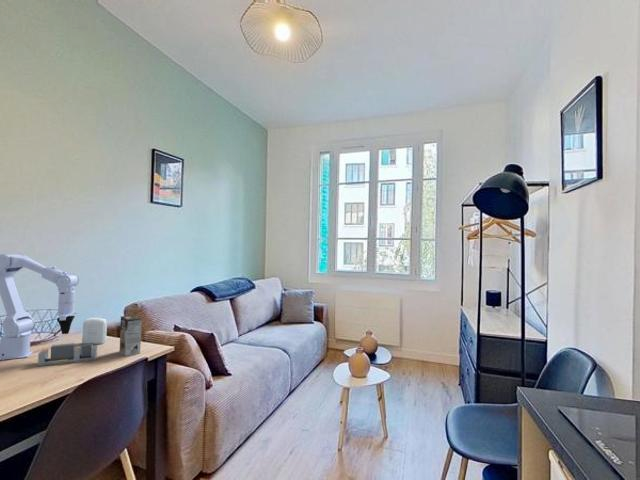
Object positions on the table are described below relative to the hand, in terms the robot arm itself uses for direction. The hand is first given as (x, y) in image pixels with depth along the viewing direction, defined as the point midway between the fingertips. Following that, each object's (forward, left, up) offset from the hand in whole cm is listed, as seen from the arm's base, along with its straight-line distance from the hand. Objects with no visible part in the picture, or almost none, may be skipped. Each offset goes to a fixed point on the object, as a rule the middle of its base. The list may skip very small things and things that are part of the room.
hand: (65, 333), depth 144 cm
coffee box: (+25, -4, -10) cm, 27 cm away
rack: (+3, -7, -10) cm, 12 cm away
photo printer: (+9, +18, -10) cm, 22 cm away
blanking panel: (+1, -7, -10) cm, 12 cm away
